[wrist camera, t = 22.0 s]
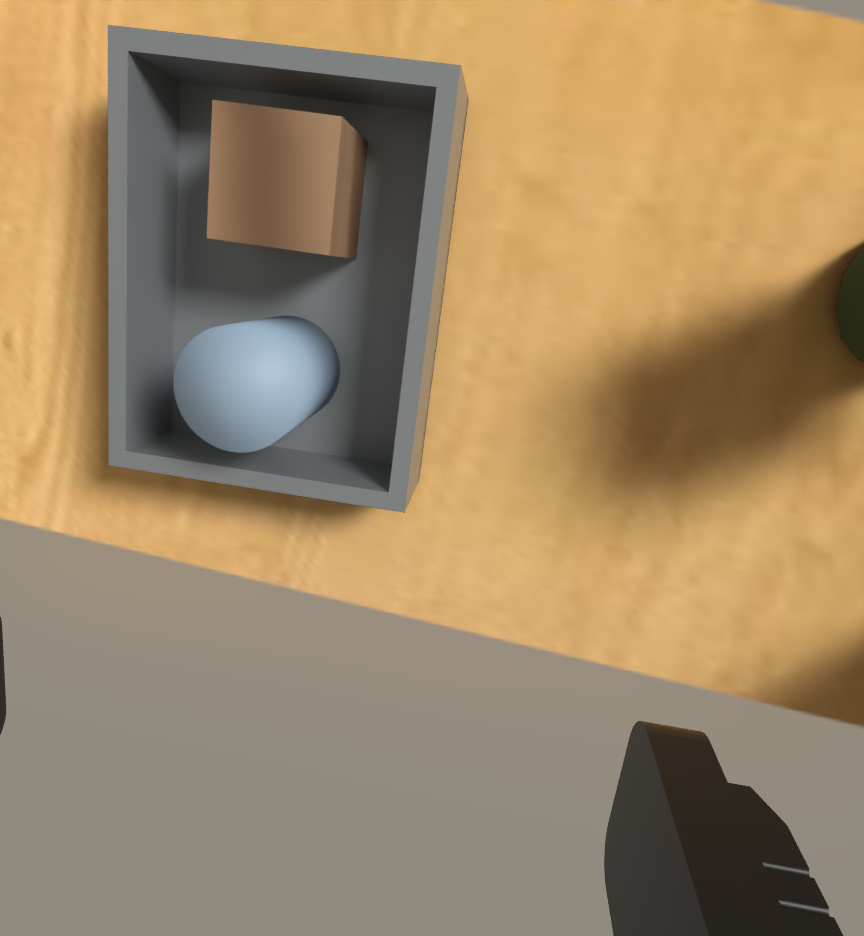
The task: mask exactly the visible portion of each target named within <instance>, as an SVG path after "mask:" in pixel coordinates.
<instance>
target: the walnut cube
mask: <svg viewBox="0 0 864 936" xmlns="http://www.w3.org/2000/svg"><path fill="white" fill-rule="evenodd" d="M367 148H368V141H367V140H366V139H365V138H364V137H363V136H362V135H361V134H360V133H359V132H358V131H356V130H355V129H354V128H353V127H352V126H351V125H350V124H349V123H348V122H347V121H346V120H345V119H344V118H343V117H342V116H335V115H328V114H320V113H312V112H304V111H296V110H289V109H281V108H273V107H265V106H258V105H250V104H242V103H234V102H227V101H219V100H212V122H211V145H210V169H209V192H208V216H207V238H210V239H217V240H224V241H231V242H238V243H245V244H252V245H259V246H266V247H273V248H280V249H287V250H294V251H301V252H308V253H315V254H322V255H329V256H337V257H345V258H353V259H356V257H357V247H358V237H359V227H360V217H361V207H362V197H363V187H364V177H365V168H366V158H367Z"/></svg>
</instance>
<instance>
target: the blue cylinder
mask: <svg viewBox="0 0 864 936" xmlns="http://www.w3.org/2000/svg"><path fill="white" fill-rule="evenodd" d="M339 379H340V362H339V357H338V353H337V351H336V348H335V346H334V344H333V343H332V341H331V339H330V338H329V337H328V335H327V334H326V333H325V332H324V331H323V330H322V329H321V328H320V327H318V326H317V325H316V324H314V323H312V322H311V321H309V320H306V319H304V318H301V317H297V316H288V315H284V316H276V317H270V318H264V319H258V320H252V321H246V322H240V323H234V324H228V325H222V326H217V327H213V328H210V329H208V330H205V331H203V332H202V333H200V334H198V335H197V336H196V337H194V338H193V339H192V340H191V341H190V342H189V343H188V344H187V345H186V347H185V348H184V350H183V351H182V353H181V355H180V357H179V359H178V361H177V364H176V367H175V372H174V393H175V399H176V402H177V405H178V408H179V410H180V412H181V415H182V416H183V418H184V420H185V421H186V423H187V424H188V425H189V427H190V428H191V429H192V430H193V431H194V432H195V433H196V434H197V435H198V436H199V437H200V438H202V439H203V440H204V441H206V442H207V443H209V444H211V445H213V446H215V447H217V448H219V449H222V450H225V451H230V452H238V453H245V452H253V451H257V450H260V449H263V448H265V447H267V446H269V445H271V444H273V443H274V442H275V441H277V440H278V439H280V438H281V437H283V436H284V435H285V434H287V433H288V432H290V431H291V430H293V429H294V428H295V427H297V426H298V425H300V424H301V423H302V422H304V421H305V420H307V419H308V418H310V417H311V416H312V415H314V414H315V413H317V412H318V411H320V410H321V409H322V408H324V407H325V406H326V405H327V404H328V403H329V401H330V400H331V399H332V397H333V396H334V394H335V392H336V389H337V387H338V383H339Z"/></svg>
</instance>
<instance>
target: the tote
mask: <svg viewBox="0 0 864 936" xmlns="http://www.w3.org/2000/svg"><path fill="white" fill-rule="evenodd" d="M212 100H219V101H227V102H234V103H242V104H250V105H258V106H265V107H273V108H281V109H289V110H296V111H304V112H312V113H320V114H328V115H335V116H342V117H343V118H344V119H345V120H346V121H347V122H348V123H349V124H350V125H351V126H352V127H353V128H354V129H355V130H356V131H358V132H359V133H360V134H361V135H362V136H363V137H364V138H365V139H366V140H367V141H368V148H367V158H366V168H365V177H364V187H363V197H362V207H361V217H360V227H359V237H358V247H357V257H356V259H353V258H345V257H337V256H329V255H322V254H315V253H308V252H301V251H294V250H287V249H280V248H273V247H266V246H259V245H252V244H245V243H238V242H231V241H224V240H217V239H210V238H207V216H208V192H209V169H210V145H211V122H212ZM467 107H468V95H467V90H466V86H465V81H464V77H463V72H462V68H461V65H453V64H445V63H436V62H427V61H418V60H410V59H401V58H392V57H383V56H375V55H366V54H357V53H349V52H340V51H331V50H322V49H314V48H305V47H296V46H288V45H279V44H270V43H261V42H253V41H244V40H235V39H226V38H218V37H209V36H200V35H192V34H183V33H174V32H165V31H157V30H148V29H139V28H130V27H122V26H113V25H108V364H109V465H110V466H116V467H122V468H128V469H135V470H141V471H147V472H154V473H160V474H166V475H172V476H179V477H185V478H191V479H197V480H204V481H210V482H216V483H222V484H229V485H235V486H241V487H247V488H254V489H260V490H266V491H272V492H279V493H285V494H291V495H297V496H304V497H310V498H316V499H322V500H329V501H335V502H341V503H347V504H354V505H360V506H366V507H373V508H379V509H385V510H391V511H398V512H404V513H405V511H406V508H407V506H408V504H409V502H410V499H411V497H412V495H413V493H414V490H415V488H416V486H417V484H418V481H419V476H420V468H421V460H422V453H423V445H424V437H425V430H426V422H427V414H428V407H429V399H430V391H431V384H432V376H433V368H434V361H435V353H436V345H437V338H438V330H439V322H440V314H441V307H442V299H443V291H444V284H445V276H446V268H447V261H448V253H449V245H450V238H451V230H452V222H453V215H454V207H455V199H456V192H457V184H458V176H459V168H460V161H461V153H462V145H463V138H464V130H465V122H466V115H467ZM284 315H288V316H297V317H301V318H304V319H306V320H309V321H311V322H312V323H314V324H316V325H317V326H318V327H320V328H321V329H322V330H323V331H324V332H325V333H326V334H327V335H328V337H329V338H330V339H331V341H332V343H333V344H334V346H335V348H336V351H337V353H338V357H339V362H340V379H339V383H338V387H337V389H336V392H335V394H334V396H333V397H332V399H331V400H330V401H329V403H328V404H327V405H326V406H325V407H324V408H322V409H321V410H320V411H318V412H317V413H315V414H314V415H312V416H311V417H310V418H308V419H307V420H305V421H304V422H302V423H301V424H300V425H298V426H297V427H295V428H294V429H293V430H291V431H290V432H288V433H287V434H285V435H284V436H283V437H281V438H280V439H278V440H277V441H275V442H274V443H273V444H271V445H269V446H267V447H265V448H263V449H260V450H257V451H253V452H245V453H238V452H230V451H225V450H222V449H219V448H217V447H215V446H213V445H211V444H209V443H207V442H206V441H204V440H203V439H202V438H200V437H199V436H198V435H197V434H196V433H195V432H194V431H193V430H192V429H191V428H190V427H189V425H188V424H187V423H186V421H185V420H184V418H183V416H182V415H181V412H180V410H179V408H178V405H177V402H176V399H175V393H174V372H175V367H176V364H177V361H178V359H179V357H180V355H181V353H182V351H183V350H184V348H185V347H186V345H187V344H188V343H189V342H190V341H191V340H192V339H193V338H194V337H196V336H197V335H198V334H200V333H202V332H203V331H205V330H208V329H210V328H213V327H217V326H222V325H228V324H234V323H240V322H246V321H252V320H258V319H264V318H270V317H276V316H284Z"/></svg>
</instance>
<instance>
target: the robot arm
mask: <svg viewBox="0 0 864 936" xmlns="http://www.w3.org/2000/svg"><path fill="white" fill-rule="evenodd" d="M5 716H6V696H5V677H4V656H3V637H2V622H1V617H0V734H1V732H2V729H3V725H4V722H5ZM604 868H605V883H606V891H607V897H608V903H609V909H610V915H611V922H612V928H613V934H614V936H843V934H842V932H841V930H840V928H839V926H838V924H837V923H836V920H835V919H834V918H833V917H830V916H829V913H828V909H829V907H828V905H827V903H826V901H825V899H824V897H823V895H822V893H821V891H820V889H819V887H818V885H817V883H816V881H815V879H814V878H810V876H809V867H808V866H807V864H806V861H805V860H804V858H803V856H802V854H801V852H800V850H799V848H798V846H797V844H796V842H795V840H794V838H793V836H792V834H791V832H790V830H789V828H788V826H787V825H786V824H785V823H784V822H783V821H782V820H781V819H780V817H778V815H777V814H776V813H775V812H774V811H773V810H772V809H771V808H770V807H769V806H768V805H767V804H766V803H765V802H764V801H763V800H762V799H761V797H759V795H758V794H757V793H756V792H755V791H754V790H753V789H752V788H751V787H749V786H743V785H738V784H732V783H728V782H727V780H726V778H725V775H724V773H723V771H722V769H721V766H720V764H719V762H718V759H717V757H716V755H715V752H714V750H713V748H712V746H711V743H710V741H709V739H708V737H707V736H706V735H705V733H703V732H700V731H694V730H688V729H683V728H677V727H671V726H666V725H660V724H654V723H648V722H643V721H638V722H637V723H636V724H635V725H634V727H633V729H632V731H631V734H630V738H629V742H628V746H627V750H626V754H625V758H624V762H623V766H622V770H621V774H620V778H619V782H618V786H617V791H616V794H615V798H614V802H613V807H612V810H611V815H610V819H609V823H608V827H607V833H606V842H605V861H604Z"/></svg>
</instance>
